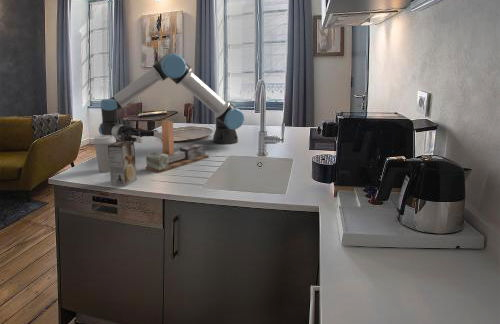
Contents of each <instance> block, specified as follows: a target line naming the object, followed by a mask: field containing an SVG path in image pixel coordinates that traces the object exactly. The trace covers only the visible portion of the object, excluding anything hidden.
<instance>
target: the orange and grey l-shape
mask: <svg viewBox="0 0 500 324" xmlns="http://www.w3.org/2000/svg"><path fill="white" fill-rule="evenodd" d="M161 132H162V138H161V140H162V141H161V142H162V154H167V155H168V159H169V163H170V162H174V161H177V160H180V159H184V158H187V150H181V151H180V150H177V151H175V146H174V145H175V142H174V141H175V140H174V122H173V120H166V119H165V120H161Z"/></svg>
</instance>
